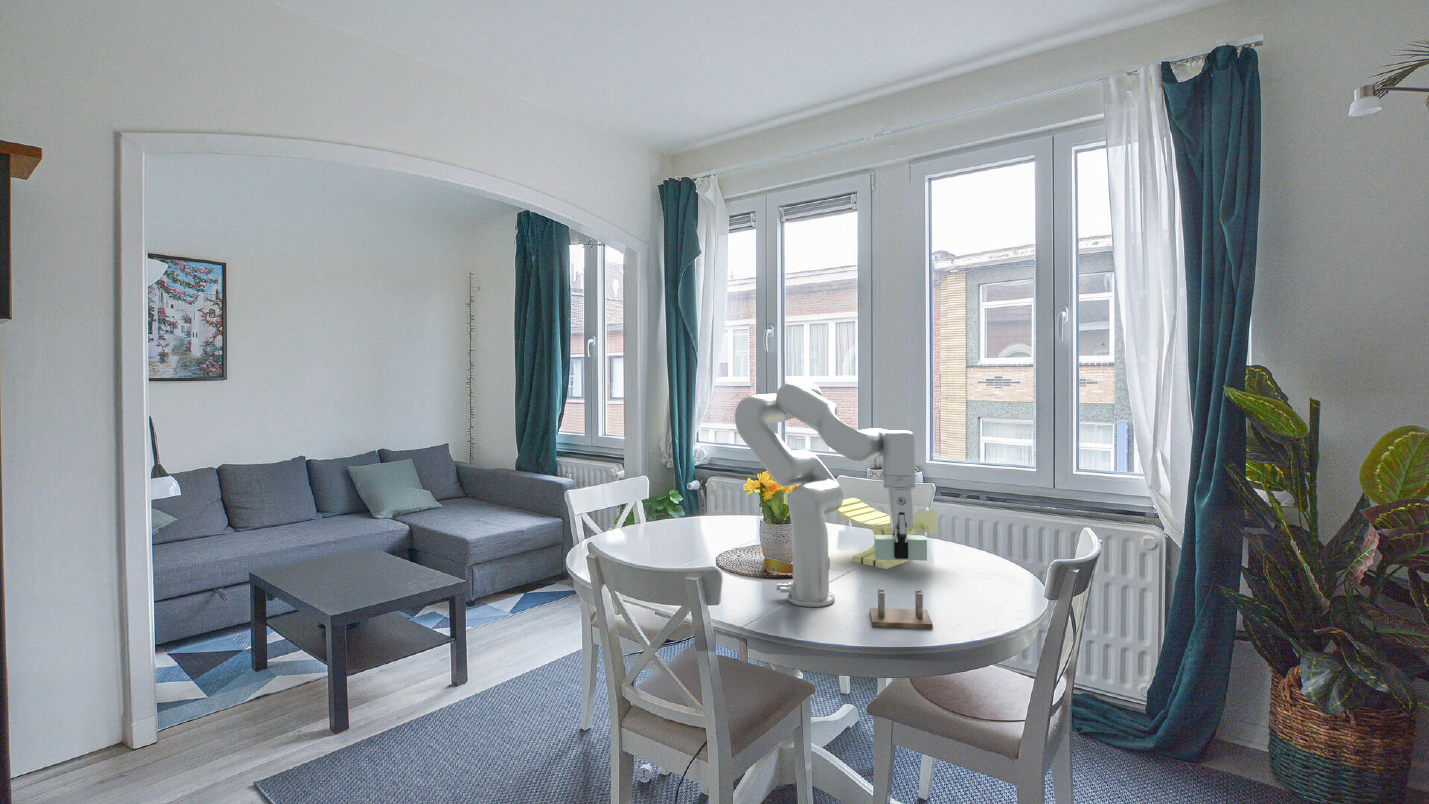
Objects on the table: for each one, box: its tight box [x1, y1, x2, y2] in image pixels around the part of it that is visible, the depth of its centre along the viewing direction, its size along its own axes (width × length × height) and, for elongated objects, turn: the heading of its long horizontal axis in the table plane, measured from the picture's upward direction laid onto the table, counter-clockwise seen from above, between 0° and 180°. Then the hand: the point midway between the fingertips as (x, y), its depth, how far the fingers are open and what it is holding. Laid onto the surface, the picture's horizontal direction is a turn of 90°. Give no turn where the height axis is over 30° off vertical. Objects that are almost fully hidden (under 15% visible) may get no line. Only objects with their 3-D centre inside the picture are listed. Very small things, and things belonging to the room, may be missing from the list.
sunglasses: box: [763, 556, 793, 573], centre depth 220 cm, size 14×15×5 cm
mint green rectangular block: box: [873, 534, 928, 561], centre depth 173 cm, size 4×12×5 cm, turn 81°
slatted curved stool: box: [833, 497, 939, 570], centre depth 228 cm, size 30×16×18 cm, turn 42°
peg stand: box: [869, 588, 934, 630], centre depth 174 cm, size 14×10×7 cm
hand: (900, 554), depth 173 cm, fingers closed on mint green rectangular block, 4 cm apart
